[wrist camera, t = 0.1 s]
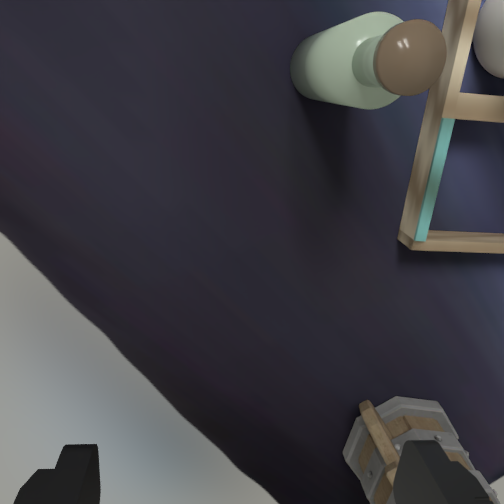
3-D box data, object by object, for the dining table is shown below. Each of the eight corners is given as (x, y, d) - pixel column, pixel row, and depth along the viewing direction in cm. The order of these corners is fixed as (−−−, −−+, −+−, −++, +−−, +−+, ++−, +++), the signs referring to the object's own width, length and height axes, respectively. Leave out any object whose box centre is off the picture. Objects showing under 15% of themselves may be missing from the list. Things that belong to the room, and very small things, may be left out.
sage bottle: (293, 30, 34) (370, -11, 18) (354, 36, 35) (478, 2, 19) (286, 97, 36) (351, 111, 20) (344, 102, 36) (450, 119, 21)
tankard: (462, 445, 53) (553, 574, 39) (373, 492, 55) (431, 632, 41) (398, 333, 46) (482, 442, 32) (296, 391, 47) (335, 520, 34)
